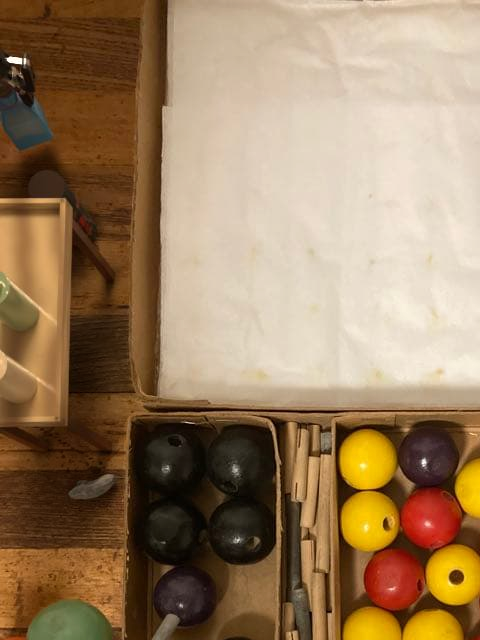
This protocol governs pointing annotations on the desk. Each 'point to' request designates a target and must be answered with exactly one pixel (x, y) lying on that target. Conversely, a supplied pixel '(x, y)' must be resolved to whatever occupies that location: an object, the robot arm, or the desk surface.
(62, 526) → the desk surface
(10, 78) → the robot arm
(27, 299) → the sage bottle
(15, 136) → the perfume bottle
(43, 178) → the deodorant
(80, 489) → the fossil
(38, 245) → the tray stand
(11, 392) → the cream bottle
